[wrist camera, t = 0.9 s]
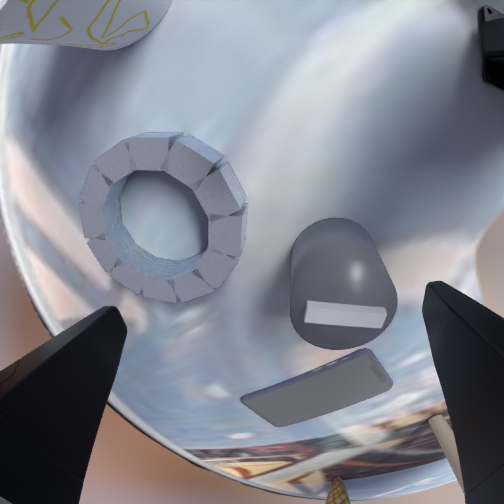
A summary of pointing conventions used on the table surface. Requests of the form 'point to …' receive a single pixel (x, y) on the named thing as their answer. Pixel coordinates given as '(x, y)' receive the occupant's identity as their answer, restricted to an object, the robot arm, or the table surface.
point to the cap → (339, 286)
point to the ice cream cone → (337, 493)
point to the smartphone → (321, 390)
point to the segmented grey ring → (207, 192)
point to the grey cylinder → (79, 22)
